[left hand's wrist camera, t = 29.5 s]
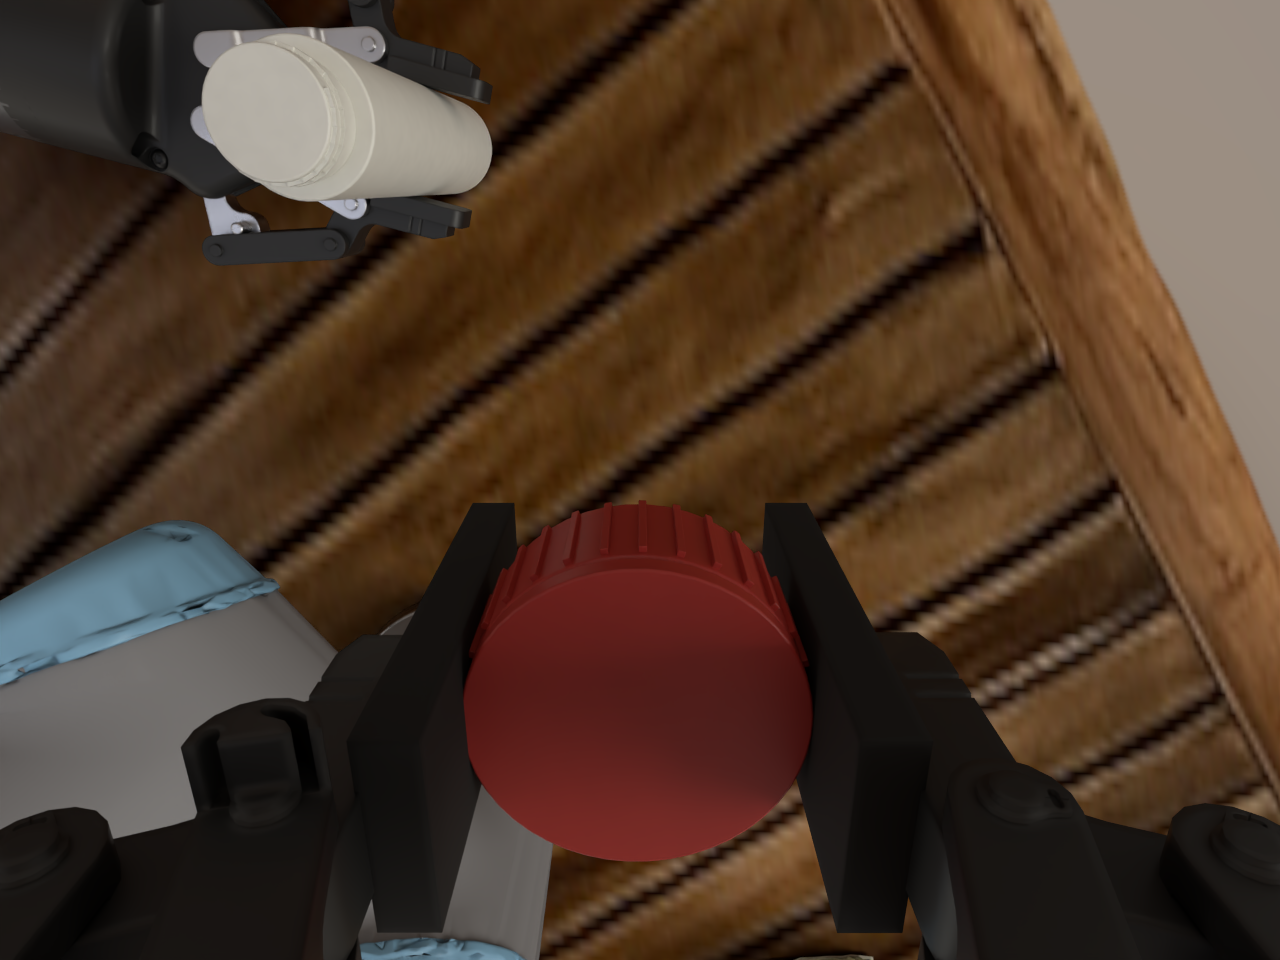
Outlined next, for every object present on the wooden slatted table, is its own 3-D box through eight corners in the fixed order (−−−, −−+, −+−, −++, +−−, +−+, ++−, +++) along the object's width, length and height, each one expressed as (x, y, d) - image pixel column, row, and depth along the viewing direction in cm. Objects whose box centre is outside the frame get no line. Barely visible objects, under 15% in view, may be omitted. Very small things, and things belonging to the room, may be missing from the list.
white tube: (421, 203, 39) (223, 220, 21) (392, 111, 37) (150, 43, 19) (503, 182, 38) (373, 180, 20) (476, 88, 37) (311, -3, 19)
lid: (681, 435, 11) (690, 492, 9) (845, 672, 12) (885, 766, 10) (422, 602, 12) (377, 686, 10) (601, 805, 13) (594, 915, 11)
